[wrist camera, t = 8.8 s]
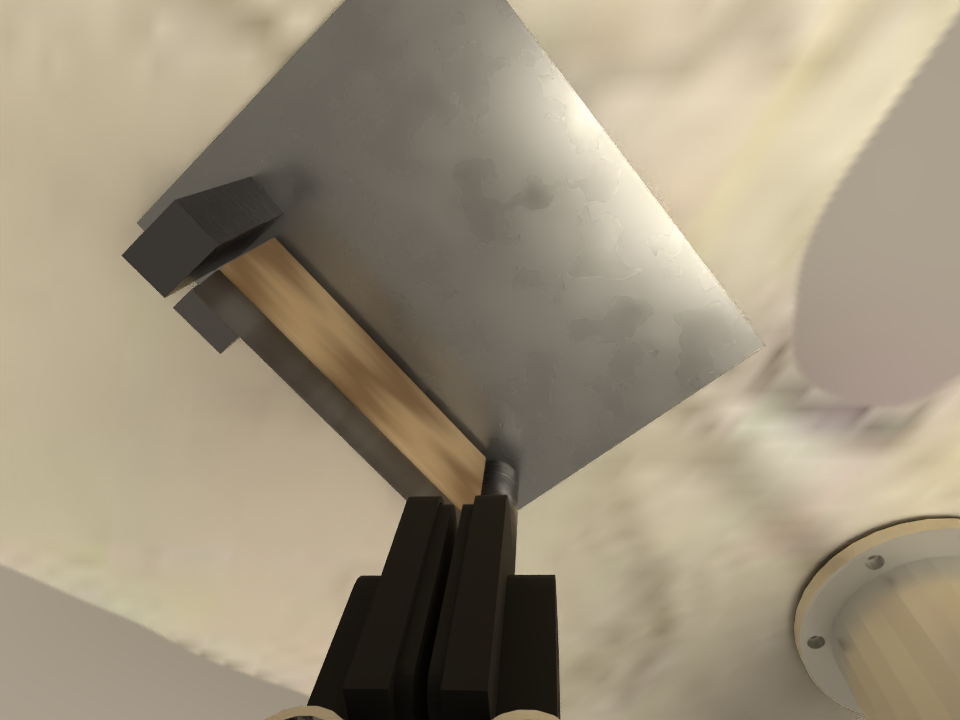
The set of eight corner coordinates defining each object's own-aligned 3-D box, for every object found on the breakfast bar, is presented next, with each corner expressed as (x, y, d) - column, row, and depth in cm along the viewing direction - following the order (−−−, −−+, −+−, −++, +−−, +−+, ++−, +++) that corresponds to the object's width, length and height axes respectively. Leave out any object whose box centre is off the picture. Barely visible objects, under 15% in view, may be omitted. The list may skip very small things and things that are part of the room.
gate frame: (762, 341, 30) (823, 410, 24) (462, 541, 36) (445, 642, 29) (436, -91, 25) (401, -154, 18) (142, 220, 30) (35, 256, 24)
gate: (485, 457, 32) (475, 534, 27) (462, 474, 33) (447, 553, 27) (274, 236, 29) (212, 272, 24) (251, 259, 30) (186, 298, 24)
